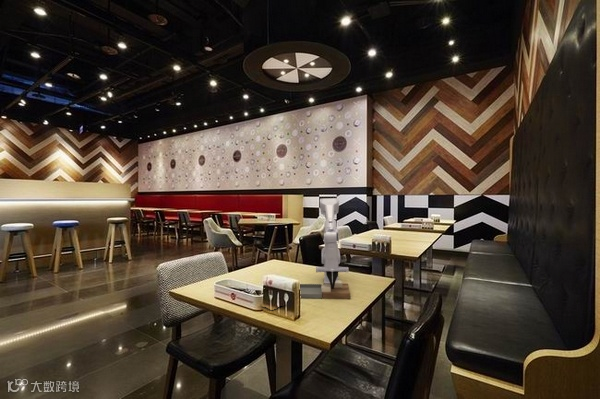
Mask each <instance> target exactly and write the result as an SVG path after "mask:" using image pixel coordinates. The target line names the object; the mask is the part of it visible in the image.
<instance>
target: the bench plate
mask: <svg viewBox="0 0 600 399" xmlns="http://www.w3.org/2000/svg"><path fill="white" fill-rule="evenodd" d="M322 284H323V285H330V283H324V282H323V283H322ZM332 284H333V283H332ZM330 288H331V285H330ZM322 300H351V290H350V286H349V283H343V282H342V288H341V287H334V289H331V292H322Z"/></svg>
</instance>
